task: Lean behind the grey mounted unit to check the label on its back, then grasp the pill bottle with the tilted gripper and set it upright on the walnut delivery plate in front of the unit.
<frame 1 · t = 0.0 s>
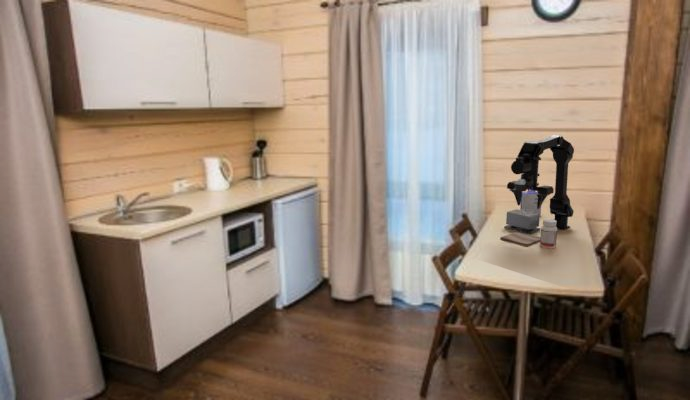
hand: (528, 207, 199), 15 cm above the table, tool pointing down, fingers open, 9 cm apart
delivery plate: (522, 239, 202), on the table
pill bottle: (547, 247, 192), on the table
ink cartridge box: (530, 215, 241), on the table
mounted unit: (522, 229, 217), on the table
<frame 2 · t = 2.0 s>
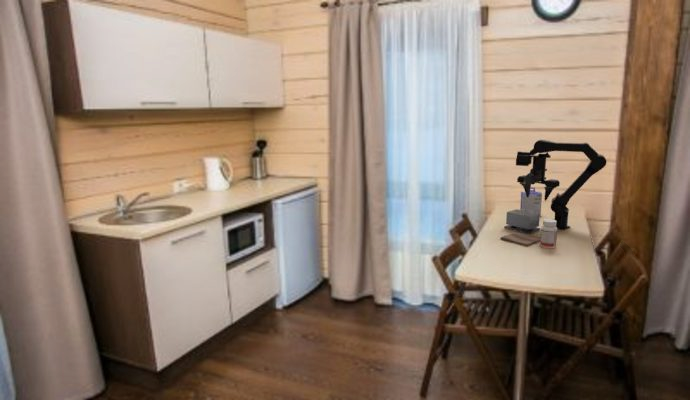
hand: (536, 198, 220), 13 cm above the table, tool pointing down, fingers open, 9 cm apart
nothing on the table moved.
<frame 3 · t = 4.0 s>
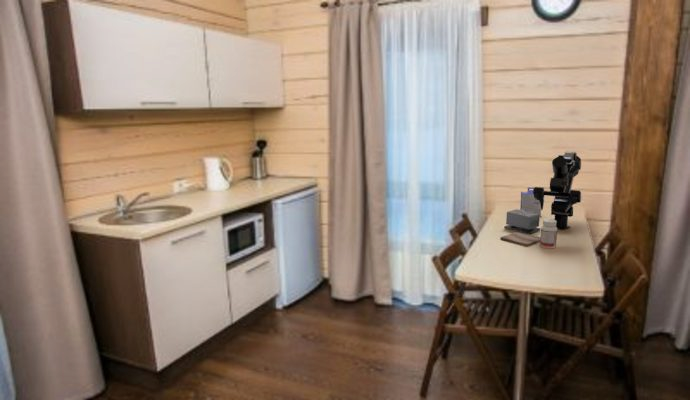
hand: (553, 210, 196), 13 cm above the table, tool tilted 45°, fingers open, 9 cm apart
nothing on the table moved.
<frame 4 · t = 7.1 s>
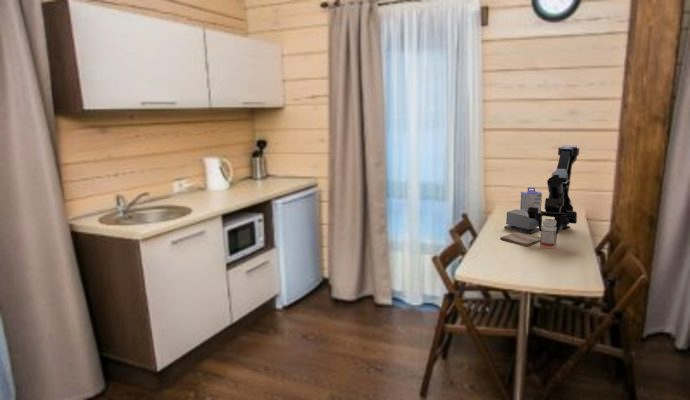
hand: (548, 232, 190), 7 cm above the table, tool tilted 45°, fingers closed on pill bottle, 6 cm apart
pill bottle: (547, 246, 192), on the table, touching gripper
everything else where it was.
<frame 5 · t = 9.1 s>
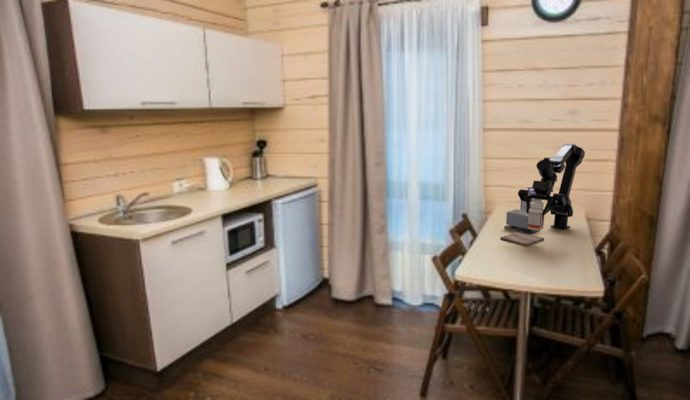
hand: (534, 214, 193), 13 cm above the table, tool tilted 45°, fingers closed on pill bottle, 6 cm apart
pill bottle: (535, 229, 195), point 6 cm above the table, touching gripper
everything else where it was.
when the fingers open (9 cm above the table, at t = 11.5 s): pill bottle drops 1 cm, resting on delivery plate.
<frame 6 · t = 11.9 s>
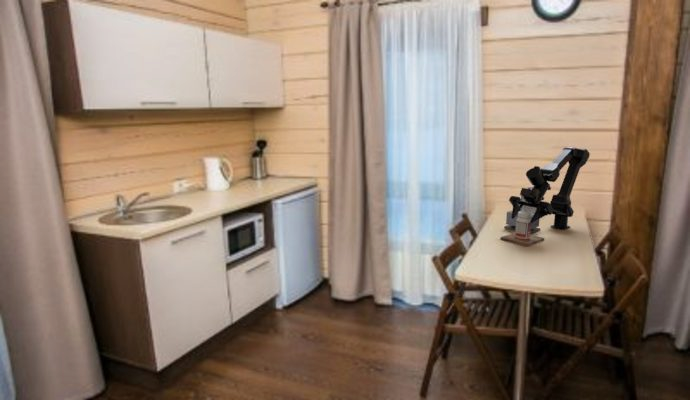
hand: (521, 220, 199), 9 cm above the table, tool tilted 45°, fingers open, 9 cm apart
pill bottle: (522, 237, 202), point 1 cm above the table, touching delivery plate
everything else where it was.
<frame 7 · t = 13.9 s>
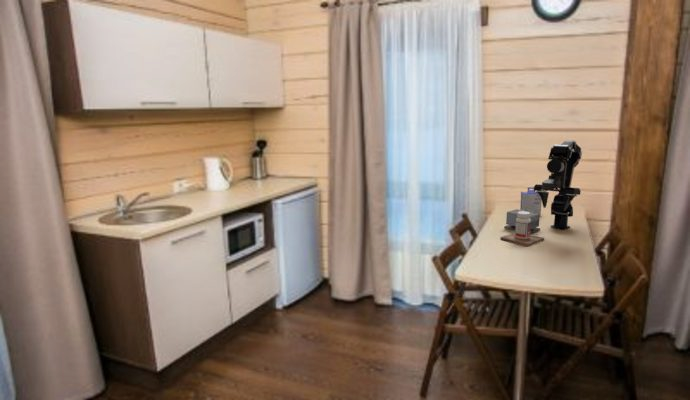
hand: (554, 209, 202), 13 cm above the table, tool pointing down, fingers open, 9 cm apart
nothing on the table moved.
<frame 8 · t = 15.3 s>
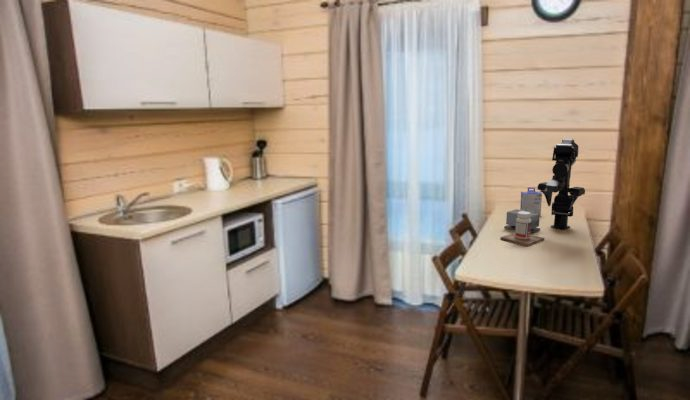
hand: (559, 207, 202), 13 cm above the table, tool pointing down, fingers open, 9 cm apart
nothing on the table moved.
at the end: pill bottle inside the target area on the delivery plate (0.2 cm from its centre), point 0.8 cm above the delivery plate's base; pill bottle tilted 0°; the gripper is holding nothing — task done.
